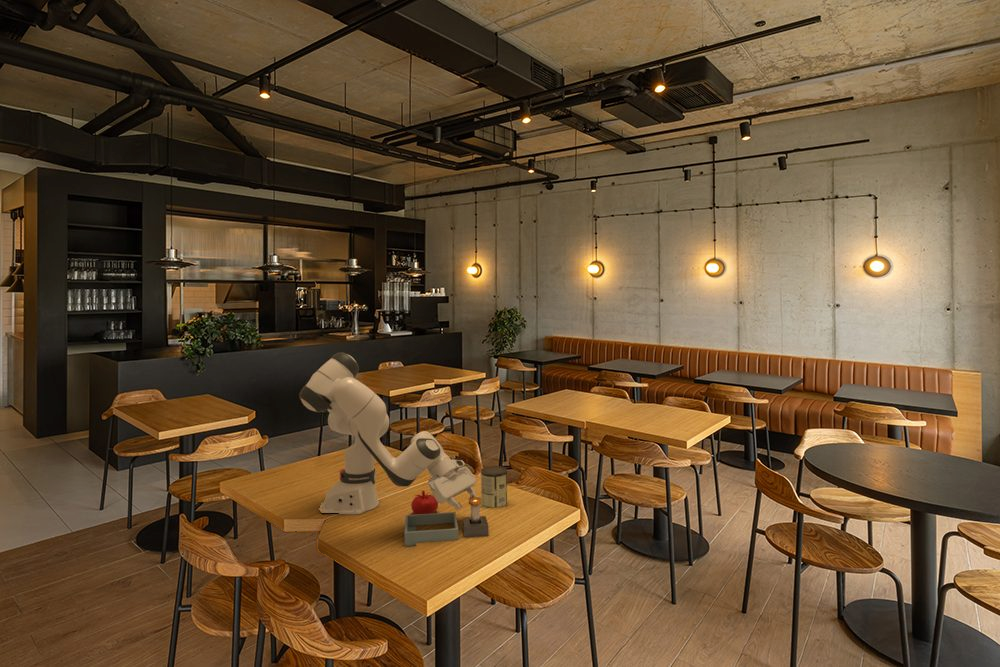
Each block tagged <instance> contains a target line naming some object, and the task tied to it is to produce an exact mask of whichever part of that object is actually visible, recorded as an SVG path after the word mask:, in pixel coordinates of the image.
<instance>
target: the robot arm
mask: <svg viewBox="0 0 1000 667" xmlns="http://www.w3.org/2000/svg"><path fill="white" fill-rule="evenodd" d="M359 367H360V366H359V364H358V363H357V361H356V360H355V358H354V357H353V356H351V355H350V354H349V353H348V354H347V353H346V352H337V353H335V354H333V355H332V356H331V357H330V359H329V360H327V361H326V362H325V363H324V364H323V365H321V366H320V368H319V369H317V370H316V371H315V372H314V373H313V374H312V375H311V377H310V379H309V380H308V382H306V384H305V385H304V386H303V387H302V388H301V390H300V392H299V394H298V396H299V399H300V401H301V403H302V404H303V406H304V407H305V408H306V409H308V410H310V411H312V412H316V413H323V412H325V411H328V413H329V414H328V417H327V424H328V427H329V428H330V430H332V431H333V432H336V433H339V434H341V435H349V436H355V437H354V438H355V440H354V443H353V444H351V445H350V446H349V447H347V448H346V450H345V451H344V468H341V469H339V470H340V471H339V481H337V482H336V483H335V484H334V485H332V486H331V487H330V488H329V489H328V490H327V492H326V495H325V499H324V500H325V502H323V501H322V502H323V503H322V502H321V503H320V504H321V505H320V504H319V506H320V508H319V507H318V511H319V510H320V509H321V508H322V509H323V508H324V509H323V510H320V511H321V512H327V513H339V514H338V515H361V514H363V513H365V512H367V511H370V510H373V509H375V508H376V507H378V506H379V504H380V501H379V498H378V495H377V490H376V489H377V488H376V482H377V476H376V475H377V474H376V468H375V461H376V462H377V463H378V465H379V466H381V468H382V469H383V470H384V472H385V473H386V475H387V477H388V478H389V480H390V481H391V482H392V483H393V484H394V485H395V486H397V487H402V488H403V487H410V486H411V485H412V484H413V483H414V481H415V480H417V478H418V477H419V476H420V475H421V474H422V473H423V472H424V471H425V470H427V471H428V473H429V475H430V476H431V477H430V478H429V479H428V481H427V485H428V486H429V488H430V491H431V495H432V496H433V495H434V497H435V499H436V500H437V502H438V504H441V505H442V504H444V503H446V502H447V503H448V504H449V505H451V506H452V507H454V509H455V510H456V511H459V510H460V509H461V508H463V505H462V504H461V502H460V501H459V502H458V501H456V499H455V497H456V496H458V495H461V494H462V493H464V492H467V493H469V498H472V497H478V496H477V495H476V493H475V490H474V486H475V485H476V484H477V479H476V477H475V476H474V474H473V473H472V471H471V470H470V468H468V466H465V465H466V464H465V462H464V461H463V460H462V459H452V458H450V456H449V455H448V454H446V453H445V451H444V448H443V446H442V445H441V444H440V443H439V441H438V440H437V439H436V437H434V435H432V434H431V433H430V432H429V431H427V430H423V431H420V432H418V433H416V434H415V435H413V437H412V438H411V439H410V445H409V446H408V447H407V448H406V449H404V451H402V452H401V453H400V454H399V455H398V456H397V457H395V456H393V455H392V454H391V453H390V452H389V450H388V449H387V448H386V447H385V444H384V445H383V443H382V442H381V439H380V438H382V437H383V436H384V435H385V434H386V433H387V431H388V430H389V428H390V427H389V426H390V417H389V415H388V413H387V405H386V403H385V402H384V401H383V399H382V398H381V397H380V396H379V395H378V394H377V393H375V392H374V390H372V389H371V388H370V387H368V386H367V385H366V384H364V383H362V382H361V381H359V380H358V379H356V377H357V375H358V373H359V371H360V368H359Z"/></svg>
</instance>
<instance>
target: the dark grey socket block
mask: <svg viewBox="0 0 1000 667" xmlns="http://www.w3.org/2000/svg"><path fill="white" fill-rule="evenodd" d="M462 530H463V534H464V538H477V537H488V536H489V524H488V520H487V516H486V515H482V516H481V515H480V524H471V516H468V517H466V516H465V517H462Z"/></svg>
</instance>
